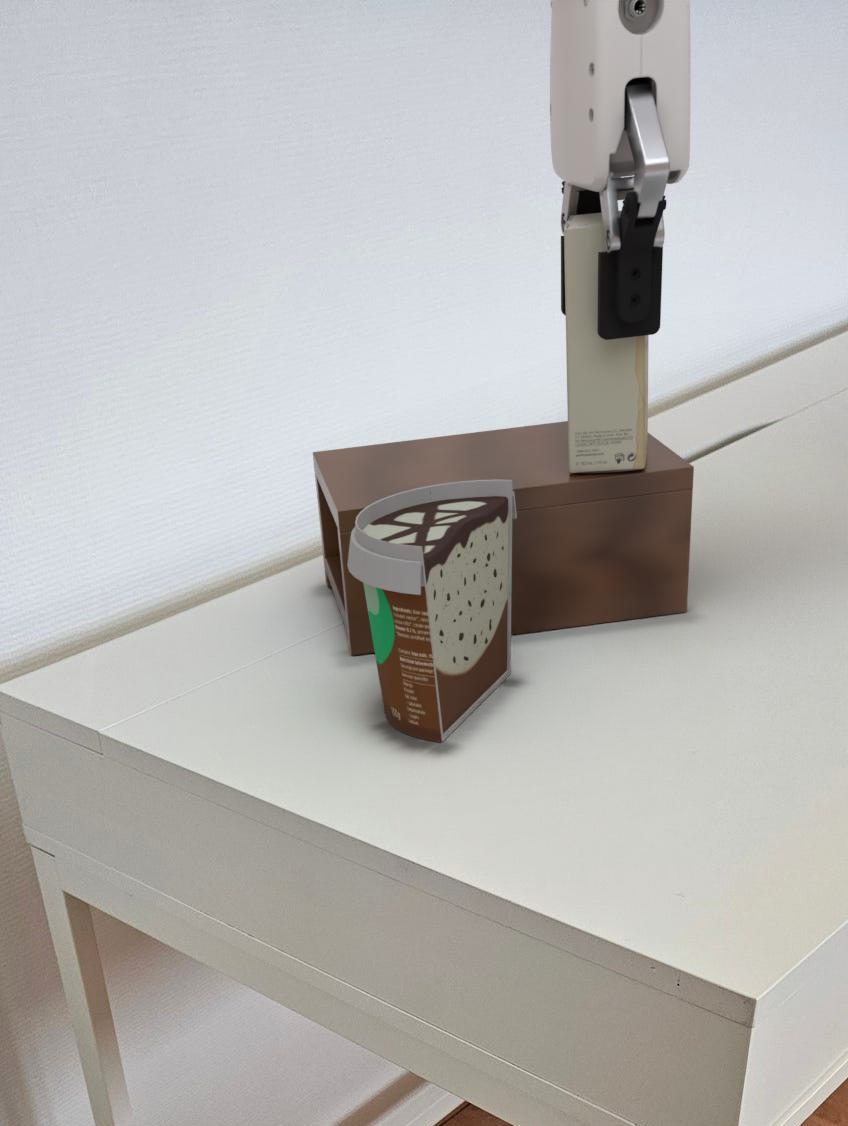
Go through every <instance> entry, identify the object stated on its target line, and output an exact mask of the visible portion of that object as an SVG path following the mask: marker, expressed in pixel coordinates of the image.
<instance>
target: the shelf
mask: <svg viewBox="0 0 848 1126" xmlns="http://www.w3.org/2000/svg"><path fill="white" fill-rule="evenodd" d="M312 460H313V469H314V470H313V471H314V479H315V480H314V481H315V490H316V500H317V508H318V509H317V510H318V518H319V519H318V520H319V528H320V538H321V549H322V557H323V568H324V577H325V584H326V586H327V588H331V590H332V592H333V595H334V597H335V598H334V599H335V601H336V603H337V606H338V609H339V611H340V615H341V618H342V620H343V623H344V626H345V629H346V631H347V632H346V634H347V642H348V643H347V644H348V649H349V653H350V655H351V656H359V655H367V654H375V651H374V645H373V639H372V633H371V626H370V620H369V614H368V608H367V602H366V596H365V590H364V584H363V582H361V581H360V580H358V579H357V578H355V577H354V576H353V575H352V574H351V573H350V572H349V569H348V566H347V564H348V555H349V546H350V537H351V533H352V530H353V529H354V527H355V521H356V517H357V516H358V514H359V513H360V512H361V511H362V510H363V509H364V508H366V507H367V506H369V505H371V504H372V503H374V502H376V501H378V500H381V499H383V498H386V497H388V496H391V495H394V494H397V493H401V492H404V491H408V490H412V489H416V488H421V487H426V486H432V485H438V484H444V483H452V482H461V481H474V480H512V487H513V492H514V493H515V503H516V513H517V518H516V519H512V588H511V636H513V635H520V634H528V633H536V632H545V631H550V630H560V629H567V628H573V627H574V628H575V627H582V626H589V625H596V624H605V623H611V622H612V623H613V622H619V621H629V620H634V619H635V620H636V619H642V618H643V619H644V618H650V617H652V618H653V617H657V616H658V617H660V616H667V615H673V614H682V613H687V612H688V597H689V595H688V593H689V574H690V557H691V556H690V553H691V531H692V513H693V512H692V511H693V493H694V492H693V489H694V476H695V475H694V473H695V467H694V465H692V464H691V463H690V462H688V461H687V460H686V459H684V458H683V457H682V456H680V455H679V454H678V453H676V452H675V451H674V450H672V449H671V448H670V447H668V446H667V445H666V444H664V443H663V442H662V441H660V440H659V439H657V438H656V437H655V436H654V435H652V434H651V433H649V432H648V437H647V456H646V463H645V468H644V469H639V470H630V471H621V472H606V473H569V451H568V420H565V421H564V420H563V421H557V422H549V423H541V424H532V425H524V426H517V427H515V426H514V427H509V428H507V427H506V428H500V429H499V428H498V429H491V430H490V429H489V430H484V431H476V432H475V431H474V432H467V433H459V434H450V435H442V436H433V437H426V438H417V439H409V440H401V441H393V442H385V443H379V444H378V443H376V444H368V445H361V446H353V447H352V446H351V447H345V448H344V447H343V448H335V449H329V450H328V449H327V450H320V451H312Z"/></svg>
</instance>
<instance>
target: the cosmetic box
mask: <svg viewBox="0 0 848 1126" xmlns="http://www.w3.org/2000/svg"><path fill="white" fill-rule="evenodd" d="M621 211H622V210H619V218H620V215H621ZM563 236H564V260H565V309H566V316H565V348H566V349H565V352H566V355H565V356H566V400H567V401H566V403H567V421H568V451H569V473H606V472H621V471H630V470H639V469H644V468H645V463H646V456H647V437H648V433H649V432H648V431H649V430H648V429H649V427H648V426H649V425H648V424H649V335H644V336H636V337H627V338H619V339H610V340H605V339H603V338H601V337H600V336H599V335H598V331H597V328H598V252H605V251H606V248H605V239H604V230H603V221H602V213H592V214H583V215H571V216H570V218H569V219H568V221H567V223H566V225H565V228H564V235H563Z"/></svg>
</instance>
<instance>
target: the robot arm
mask: <svg viewBox="0 0 848 1126" xmlns="http://www.w3.org/2000/svg"><path fill="white" fill-rule="evenodd" d="M690 4H691V3H690V0H550V8H551V13H550V14H551V15H550V16H551V18H550V20H551V21H550V51H549V53H550V55H549V56H550V57H549V62H550V63H549V128H550V129H549V130H550V147H551V148H550V149H551V150H550V152H551V162H552V167H553V171H554V173H555V174H556V175H557V177H559V178H560V179H561V180H562V181H561V185H562V187H561V188H560V189H561V194H562V204H561V214H560V228H561V229H560V230H561V234H562V235H560V311H561V313H562V315H564V316H565V317H566V309H565V260H564V228H565V225H566V223H567V221H568V219H569V218H570V216H571V215H583V214H592V213H602V221H603V230H604V239H605V248H606V251H605V252H598V328H597V331H598V335H599V336H600V337H601V338H603V339H605V340H610V339H619V338H627V337H636V336H644V335H648V336H653V335H655V334H657V333H658V332H659V331H660V329H661V320H662V319H661V317H662V316H661V315H662V288H663V287H662V286H663V285H662V284H663V260H664V259H663V256H664V255H663V254H664V243H665V237H666V236H665V233H666V232H665V221H664V211H665V210H666V208H667V199H666V195H665V191H666V187H667V185H672V184H673V185H674V184H678V183H680V181H681V180H683V178H684V177H685V176H686V174H687V173H688V170H689V167H690V158H691V156H690V155H691V8H690V7H691V5H690ZM619 201H622V206H621V210H619V203H618V202H619ZM619 211H621V215H620V218H619Z"/></svg>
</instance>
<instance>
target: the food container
mask: <svg viewBox="0 0 848 1126" xmlns="http://www.w3.org/2000/svg"><path fill="white" fill-rule="evenodd" d="M516 518H517V513H516V503H515V493H514V492H513V487H512V480H474V481H461V482H452V483H444V484H438V485H432V486H426V487H421V488H416V489H412V490H408V491H404V492H401V493H397V494H394V495H391V496H388V497H386V498H383V499H381V500H378V501H376V502H374V503H372V504H371V505H369V506H367V507H366V508H364V509H363V510H362V511H361V512H360V513H359V514H358V516H357V517H356V521H355V527H354V529H353V530H352V533H351V537H350V546H349V555H348V564H347V566H348V569H349V572H350V573H351V574H352V575H353V576H354V577H355V578H357V579H358V580H360V581H361V582H363V584H364V590H365V596H366V602H367V608H368V614H369V620H370V626H371V633H372V639H373V645H374V651H375V653H374V656H375V661H376V668H377V669H376V670H377V674H378V681H379V687H380V692H381V693H380V694H381V698H382V704H383V711H384V716H385V719H386V720H387V722H388V723H389V724H390V725H391V726H392V727H393V728H395V729H396V730H398V731H399V732H402V733H403V734H405V735H409V736H411V737H414V738H418V739H422V740H425V741H430V742H437V743H443V742H444V741H445V740H446V739H447V738H449V736H450V735H451V734H452V733H453V732H454V731H455V730H456V729H457V728H458V727H459V726H460V725H461V724H462V723H463V722H464V721H466V719H467V718H468V717H469V716H470V715H472V713H473V712H475V710H476V709H477V708H479V706H480V705H481V704H482V703H483V702H484V701H485V700H487V698H488V697H490V695H491V694H492V693H493V692H494V691H495V690H496V689H497V688H498V687H499V686H501V684H502V683H504V681H505V680H506V679H507V678H508V677H509V676H510V675H511V667H512V666H511V665H512V664H511V663H512V661H511V659H512V635H511V588H512V519H516Z"/></svg>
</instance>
